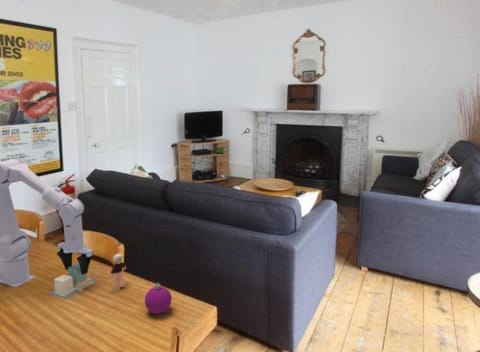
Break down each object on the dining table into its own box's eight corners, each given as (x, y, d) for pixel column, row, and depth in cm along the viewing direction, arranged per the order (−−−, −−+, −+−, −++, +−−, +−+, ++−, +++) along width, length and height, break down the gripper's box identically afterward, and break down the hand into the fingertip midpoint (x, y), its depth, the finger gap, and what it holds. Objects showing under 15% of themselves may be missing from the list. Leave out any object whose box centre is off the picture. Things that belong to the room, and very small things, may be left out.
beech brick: (63, 284, 129) (63, 280, 128) (75, 278, 133) (74, 274, 133) (80, 289, 126) (80, 285, 125) (91, 283, 130) (91, 279, 130)
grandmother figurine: (119, 293, 124) (117, 259, 121) (108, 292, 125) (106, 258, 122) (130, 282, 132) (128, 250, 129) (120, 281, 132) (118, 249, 130)
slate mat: (46, 293, 123) (46, 293, 123) (79, 275, 136) (79, 275, 136) (66, 300, 120) (65, 299, 120) (98, 281, 132) (98, 280, 132)
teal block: (69, 280, 128) (67, 267, 127) (78, 276, 132) (77, 263, 131) (77, 283, 127) (76, 270, 125) (86, 278, 130) (85, 265, 129)
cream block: (55, 292, 123) (53, 279, 122) (65, 287, 127) (63, 274, 126) (63, 295, 122) (62, 282, 121) (73, 290, 125) (72, 276, 124)
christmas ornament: (139, 312, 114) (138, 283, 111) (159, 301, 120) (158, 273, 118) (158, 322, 109) (157, 292, 107) (177, 309, 116) (176, 281, 114)
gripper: (48, 235, 125) (52, 271, 128) (80, 242, 119) (82, 280, 122) (65, 228, 131) (68, 263, 134) (96, 235, 125) (98, 271, 128)
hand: (76, 271), depth 128 cm, fingers open, 7 cm apart
